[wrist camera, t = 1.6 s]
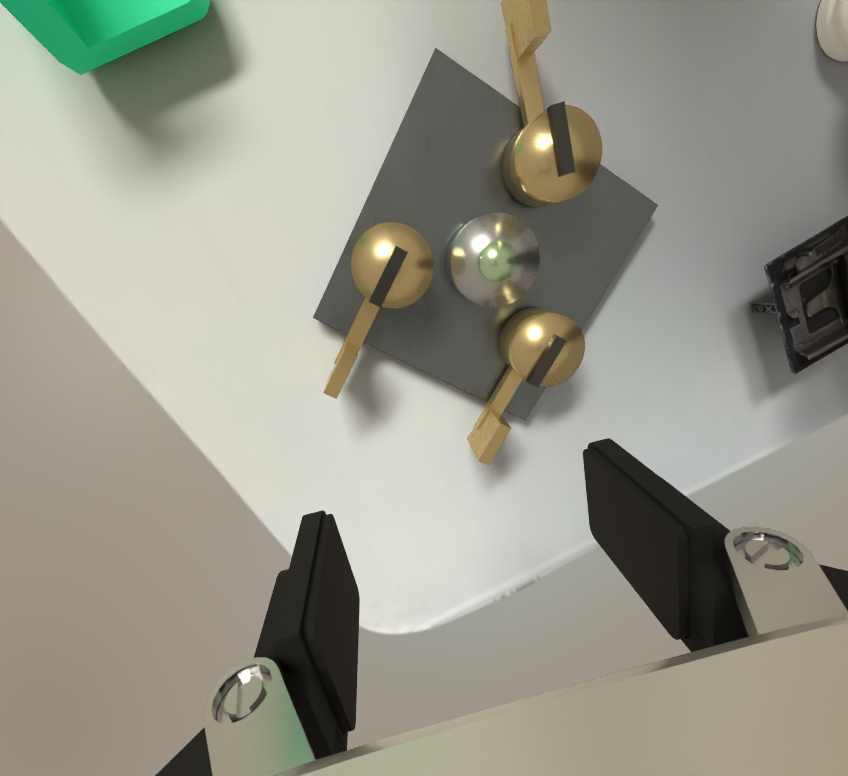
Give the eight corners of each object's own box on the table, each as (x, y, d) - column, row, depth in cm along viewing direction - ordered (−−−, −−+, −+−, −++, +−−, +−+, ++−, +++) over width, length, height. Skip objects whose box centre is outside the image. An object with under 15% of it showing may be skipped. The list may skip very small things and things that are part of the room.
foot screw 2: (581, 194, 25) (612, 185, 22) (511, 216, 25) (533, 211, 22) (548, -12, 22) (580, -59, 18) (468, 13, 22) (486, -30, 18)
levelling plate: (432, 57, 23) (443, 22, 20) (646, 207, 27) (688, 200, 24) (315, 314, 27) (306, 324, 23) (519, 413, 31) (539, 435, 27)
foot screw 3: (521, 295, 27) (542, 301, 23) (575, 326, 28) (603, 336, 24) (444, 429, 29) (454, 452, 25) (497, 452, 30) (513, 478, 27)
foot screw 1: (373, 211, 24) (373, 204, 21) (439, 248, 25) (450, 248, 22) (302, 365, 26) (292, 381, 23) (365, 393, 27) (365, 413, 24)
